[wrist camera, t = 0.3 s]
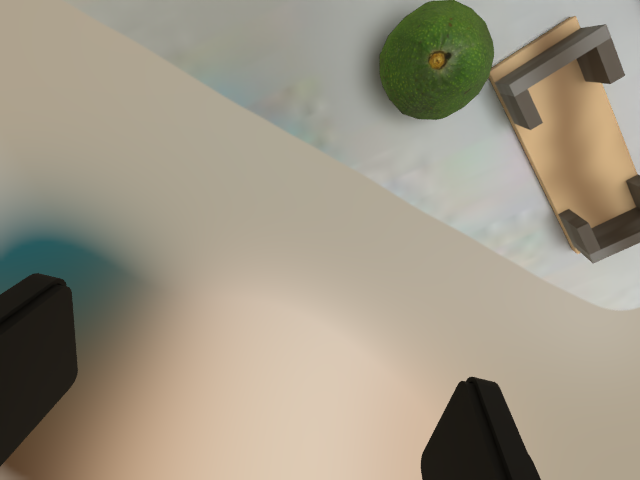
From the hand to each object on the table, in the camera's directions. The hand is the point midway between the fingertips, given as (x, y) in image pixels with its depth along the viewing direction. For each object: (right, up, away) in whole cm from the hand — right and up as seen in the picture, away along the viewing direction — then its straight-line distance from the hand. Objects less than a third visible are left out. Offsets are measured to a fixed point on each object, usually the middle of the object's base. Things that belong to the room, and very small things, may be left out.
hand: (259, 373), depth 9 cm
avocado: (+10, +18, +24) cm, 32 cm away
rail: (+24, +12, +26) cm, 37 cm away
